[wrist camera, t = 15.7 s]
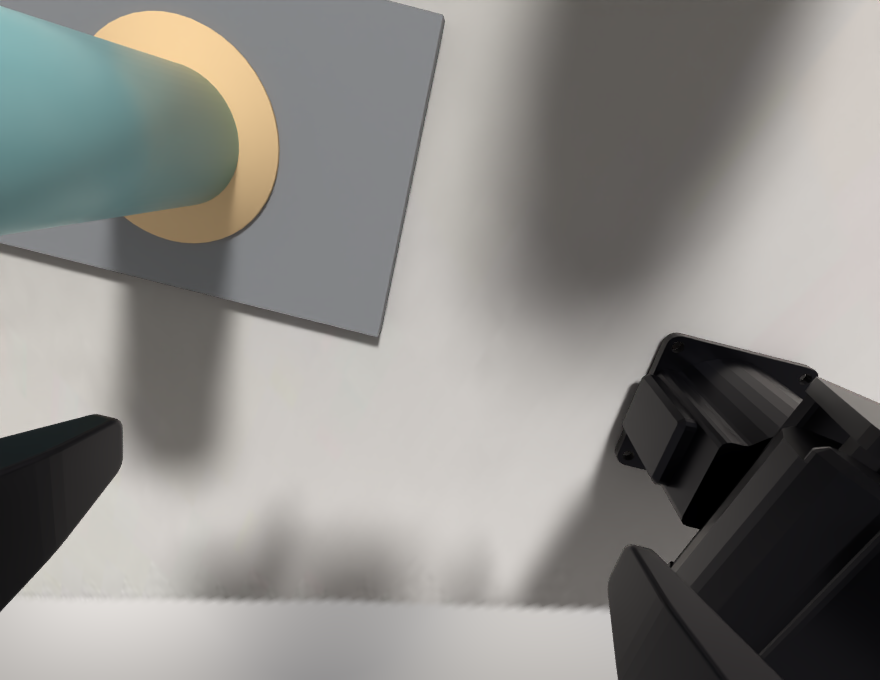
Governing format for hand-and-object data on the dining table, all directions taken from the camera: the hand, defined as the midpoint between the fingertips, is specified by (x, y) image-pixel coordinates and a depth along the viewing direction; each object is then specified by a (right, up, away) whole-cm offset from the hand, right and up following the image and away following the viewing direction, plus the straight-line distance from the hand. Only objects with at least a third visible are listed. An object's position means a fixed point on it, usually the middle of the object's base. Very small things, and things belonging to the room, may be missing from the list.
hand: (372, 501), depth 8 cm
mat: (-9, +11, +11) cm, 17 cm away
